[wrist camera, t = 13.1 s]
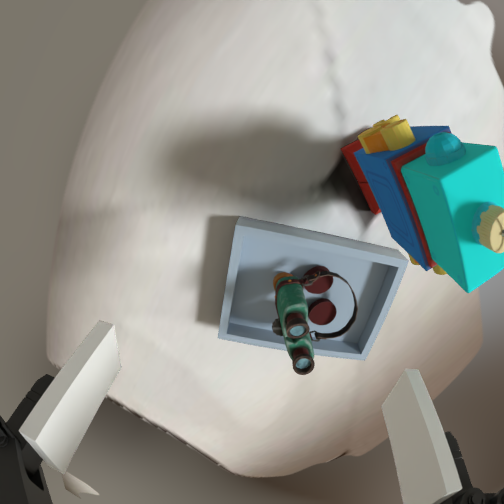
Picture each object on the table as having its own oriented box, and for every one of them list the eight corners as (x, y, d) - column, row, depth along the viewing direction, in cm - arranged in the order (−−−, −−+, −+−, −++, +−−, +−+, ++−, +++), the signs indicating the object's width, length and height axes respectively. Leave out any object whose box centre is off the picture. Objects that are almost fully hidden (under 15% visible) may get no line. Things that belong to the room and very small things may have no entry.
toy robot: (412, 203, 31) (567, 310, 8) (371, 225, 33) (497, 371, 10) (373, 115, 28) (549, 94, 5) (328, 137, 30) (464, 140, 7)
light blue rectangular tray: (239, 216, 34) (235, 224, 31) (397, 249, 34) (408, 260, 31) (222, 322, 39) (217, 338, 36) (359, 344, 39) (364, 360, 36)
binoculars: (376, 363, 27) (283, 387, 28) (348, 312, 37) (274, 329, 38) (377, 291, 24) (267, 317, 25) (342, 250, 34) (260, 268, 35)
